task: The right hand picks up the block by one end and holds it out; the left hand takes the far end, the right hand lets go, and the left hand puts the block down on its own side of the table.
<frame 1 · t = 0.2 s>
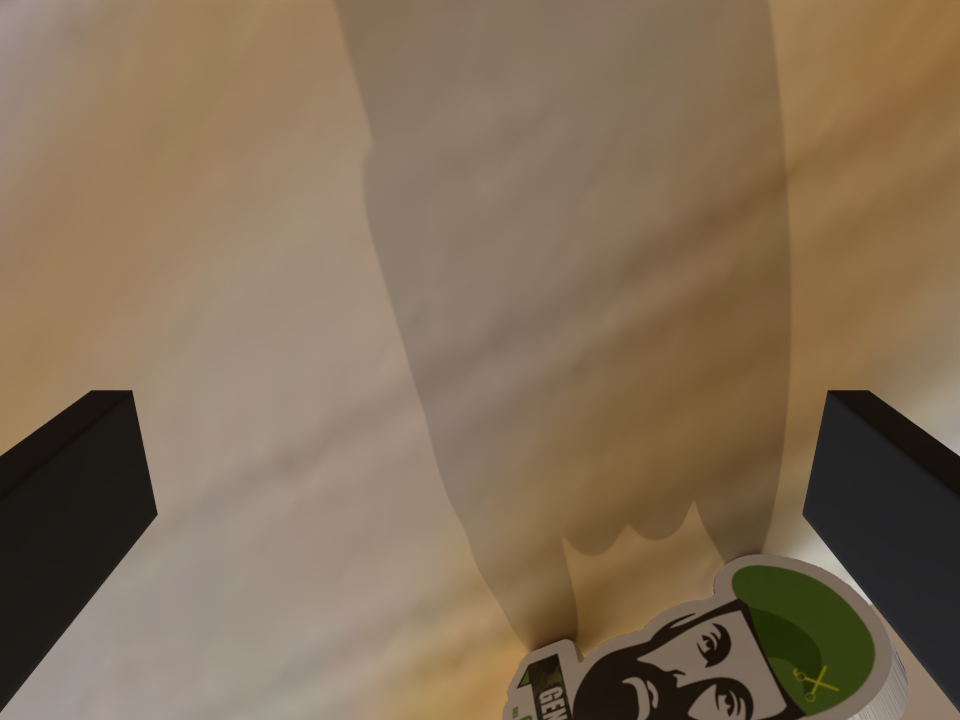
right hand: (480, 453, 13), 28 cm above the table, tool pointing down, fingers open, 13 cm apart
cutout: (654, 610, 49), on the table
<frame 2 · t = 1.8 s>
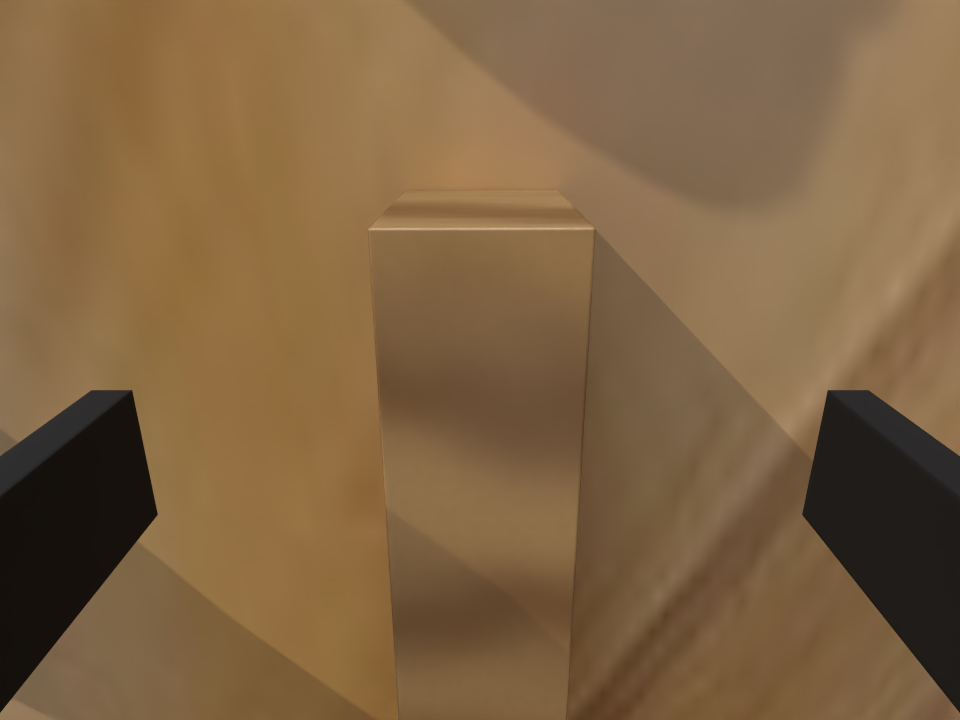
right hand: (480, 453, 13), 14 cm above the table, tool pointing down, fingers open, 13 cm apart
block: (482, 569, 30), on the table
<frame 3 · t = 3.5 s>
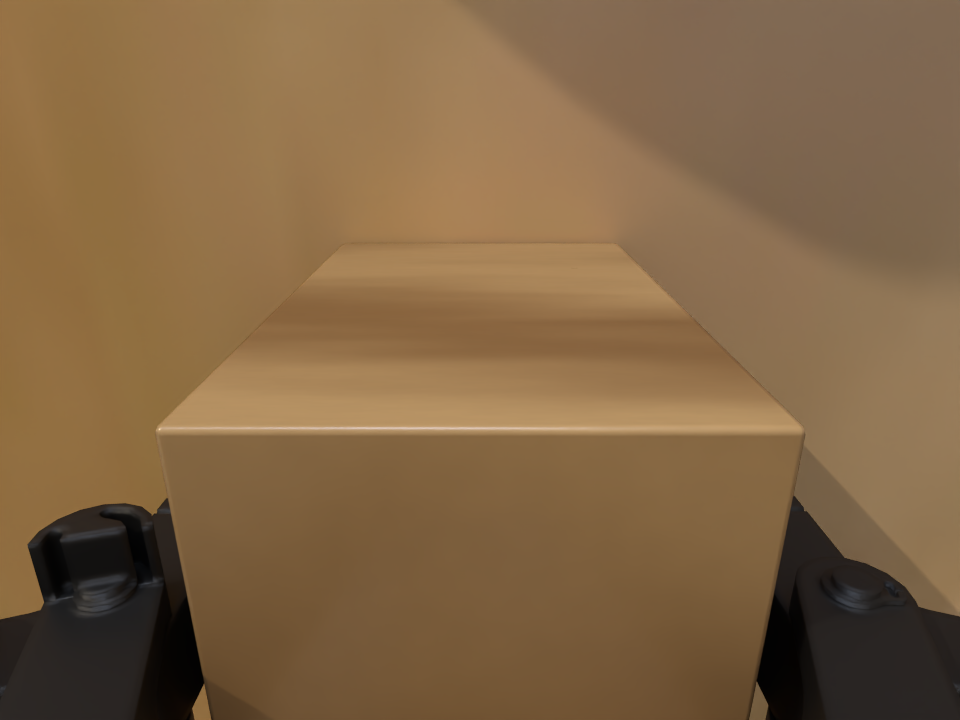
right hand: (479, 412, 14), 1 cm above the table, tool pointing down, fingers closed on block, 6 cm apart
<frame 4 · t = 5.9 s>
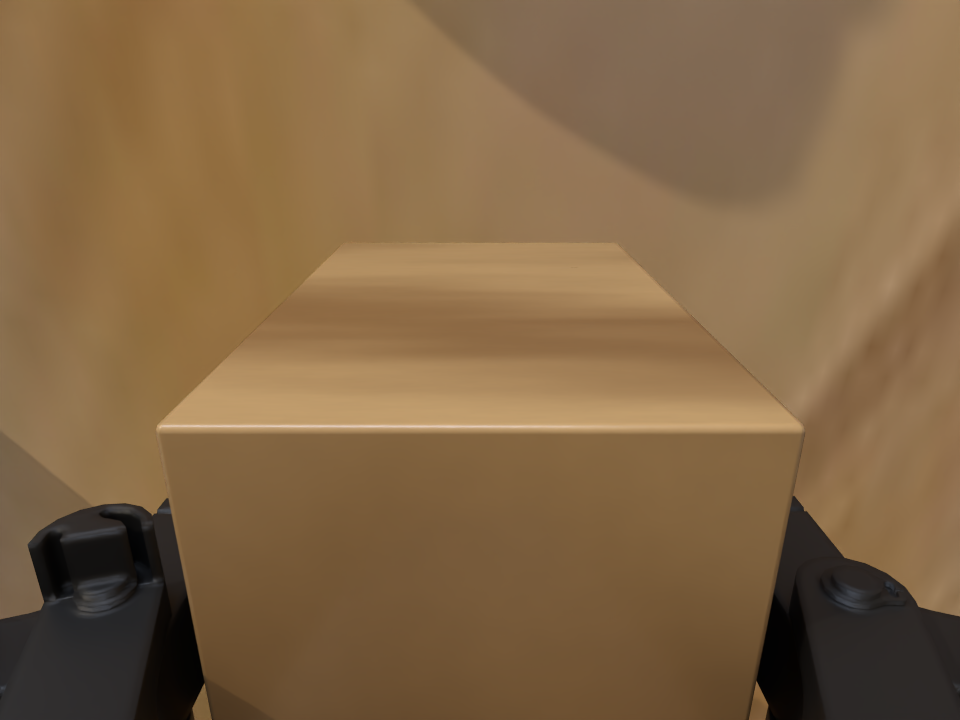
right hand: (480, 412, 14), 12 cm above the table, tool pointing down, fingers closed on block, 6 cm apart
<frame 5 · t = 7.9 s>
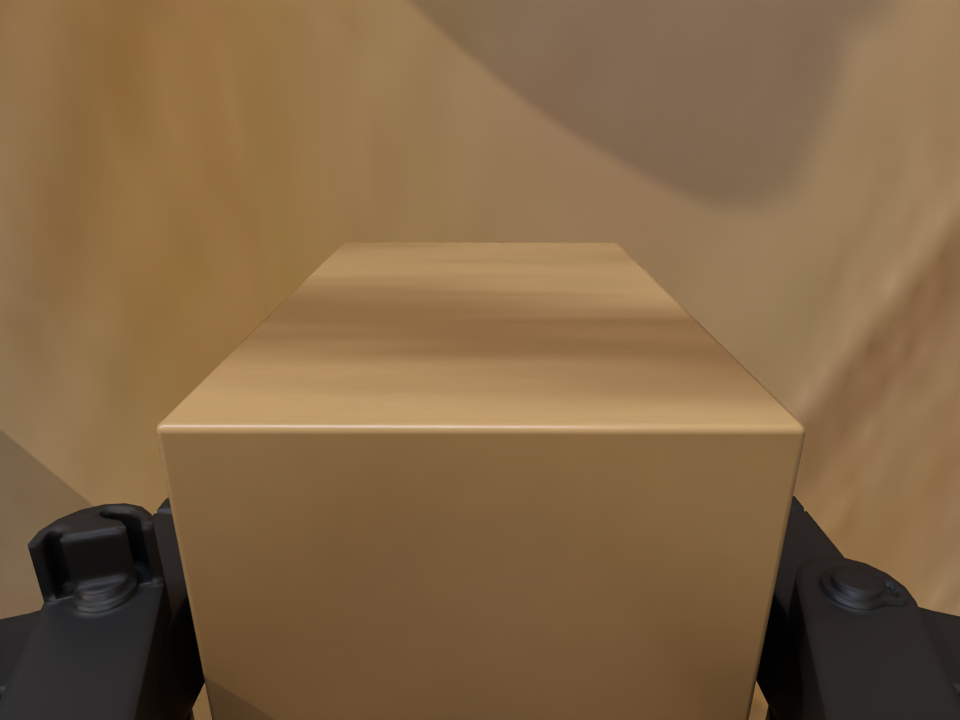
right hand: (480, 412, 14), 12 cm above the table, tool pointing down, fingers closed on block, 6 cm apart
when the right hand's fingers open (12 cm above the table, at t = 8.6 s): block stays where it is, held by the left hand.
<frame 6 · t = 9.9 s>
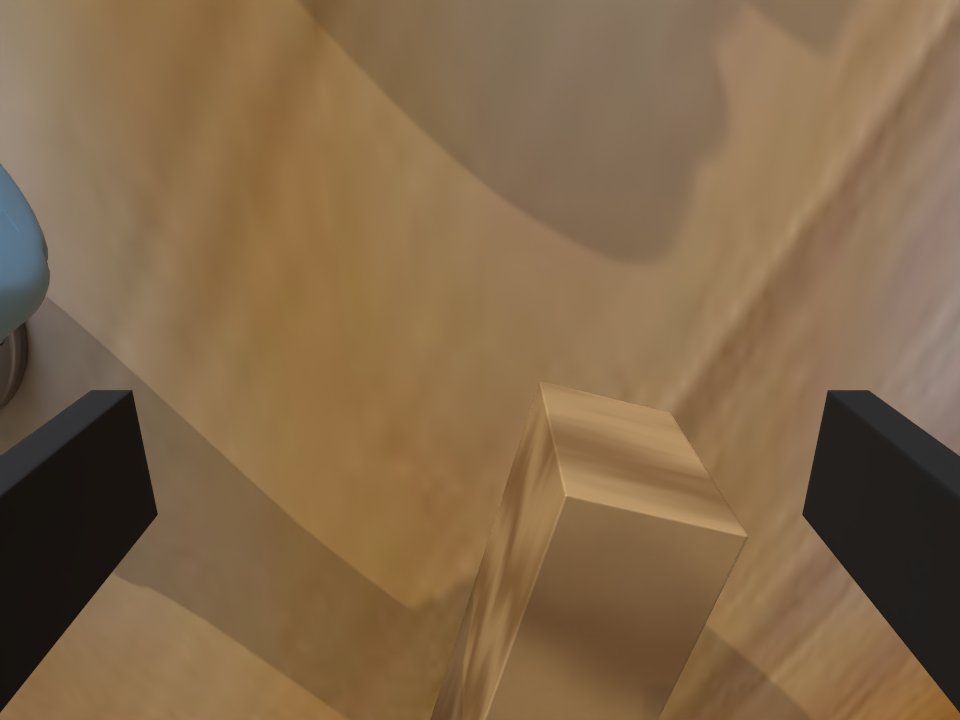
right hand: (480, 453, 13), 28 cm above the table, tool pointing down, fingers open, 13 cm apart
block: (496, 696, 33), point 14 cm above the table, touching left hand
when the left hand's fingers open (3 cm above the table, at t = 12.3 s): block drops 2 cm, on the table.
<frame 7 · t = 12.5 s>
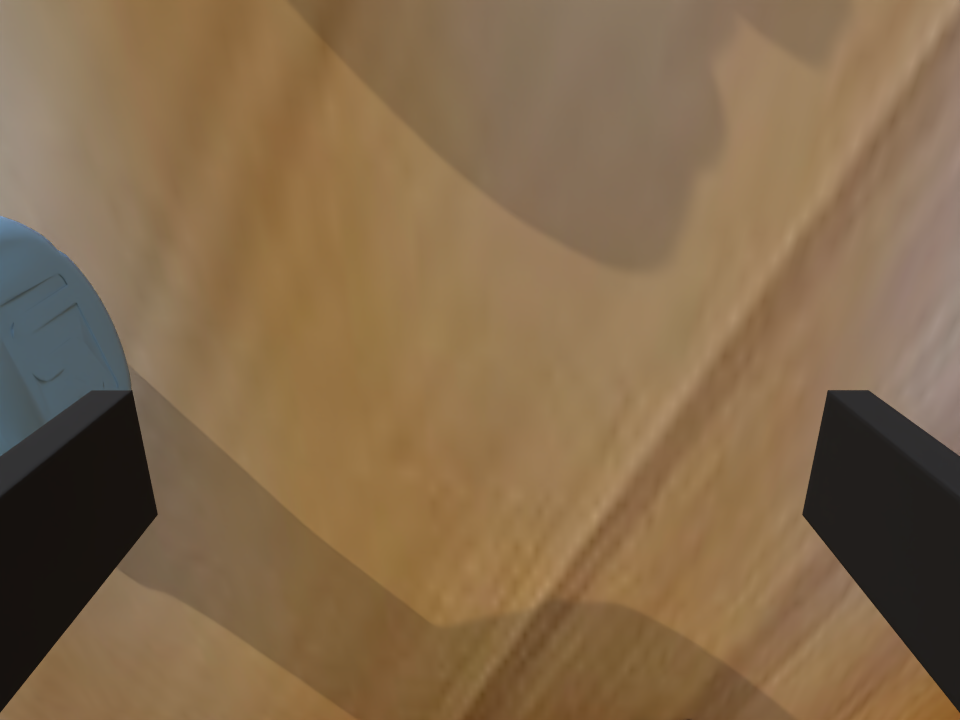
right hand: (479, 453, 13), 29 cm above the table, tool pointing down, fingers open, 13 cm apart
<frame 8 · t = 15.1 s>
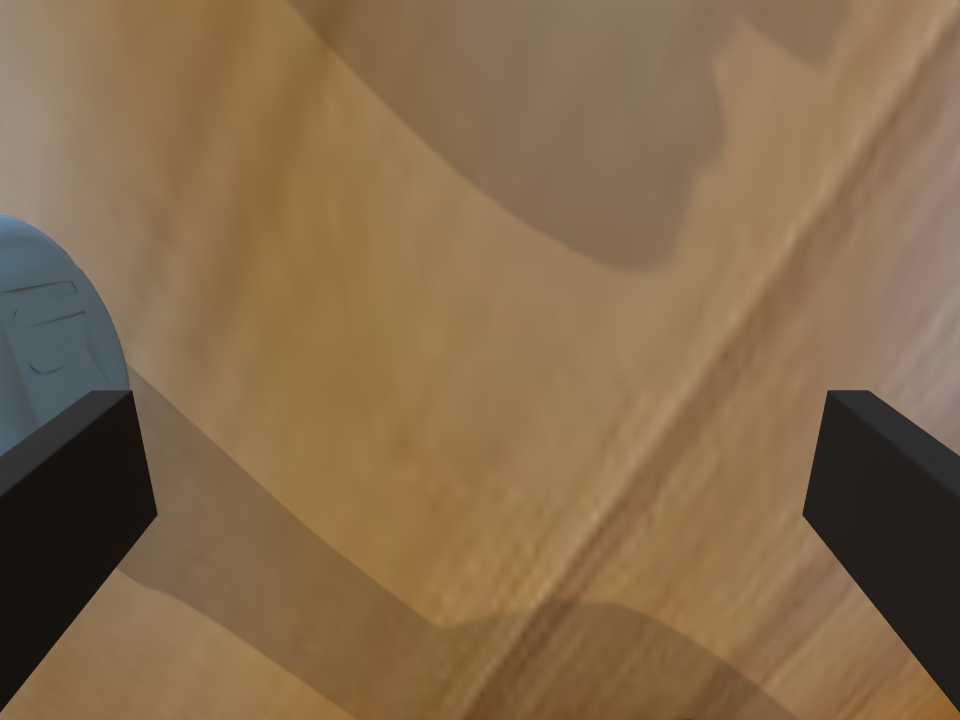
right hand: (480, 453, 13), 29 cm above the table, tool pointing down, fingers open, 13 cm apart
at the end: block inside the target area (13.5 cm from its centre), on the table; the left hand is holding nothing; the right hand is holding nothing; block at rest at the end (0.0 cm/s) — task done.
